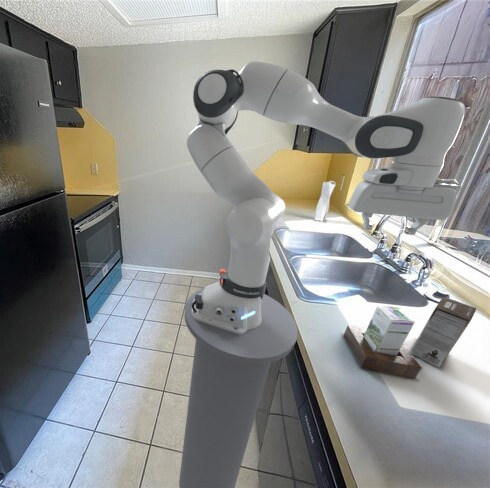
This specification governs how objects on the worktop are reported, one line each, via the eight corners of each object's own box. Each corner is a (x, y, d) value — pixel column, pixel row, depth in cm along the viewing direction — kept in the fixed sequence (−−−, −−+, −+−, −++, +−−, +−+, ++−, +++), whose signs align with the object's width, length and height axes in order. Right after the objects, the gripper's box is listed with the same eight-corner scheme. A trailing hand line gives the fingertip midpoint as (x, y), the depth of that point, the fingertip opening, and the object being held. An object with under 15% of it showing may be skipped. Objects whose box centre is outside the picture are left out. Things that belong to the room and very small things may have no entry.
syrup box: (393, 364, 68) (417, 321, 62) (370, 362, 69) (392, 319, 63) (378, 347, 74) (399, 306, 68) (357, 346, 74) (376, 305, 68)
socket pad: (360, 367, 67) (366, 356, 65) (343, 335, 78) (347, 324, 76) (415, 379, 64) (422, 367, 63) (389, 343, 75) (394, 333, 74)
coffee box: (417, 339, 77) (443, 295, 71) (446, 353, 73) (477, 307, 66) (408, 353, 72) (435, 306, 66) (439, 369, 68) (472, 321, 61)
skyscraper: (325, 222, 177) (338, 182, 166) (312, 220, 181) (323, 180, 170) (325, 219, 184) (337, 180, 172) (313, 217, 188) (324, 178, 176)
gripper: (453, 178, 61) (427, 232, 66) (356, 171, 65) (339, 223, 71) (476, 182, 55) (444, 241, 61) (368, 175, 59) (348, 231, 65)
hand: (387, 231), depth 66 cm, fingers open, 8 cm apart
